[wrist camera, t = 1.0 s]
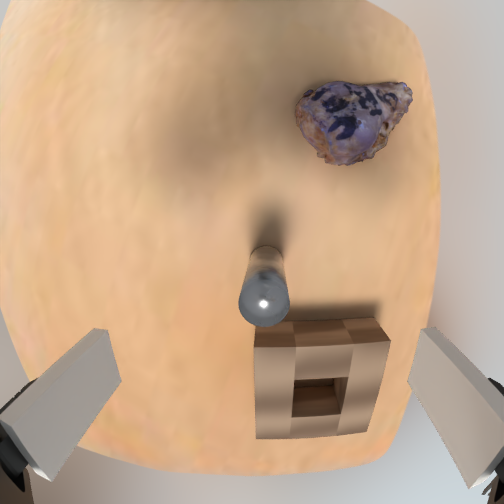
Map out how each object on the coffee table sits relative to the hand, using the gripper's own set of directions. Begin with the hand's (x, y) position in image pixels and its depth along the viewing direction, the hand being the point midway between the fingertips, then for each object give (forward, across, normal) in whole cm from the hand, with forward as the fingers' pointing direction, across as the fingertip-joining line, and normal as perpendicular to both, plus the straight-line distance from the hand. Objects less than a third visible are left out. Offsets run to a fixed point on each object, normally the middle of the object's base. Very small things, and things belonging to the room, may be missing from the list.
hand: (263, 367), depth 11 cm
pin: (+16, 0, 0) cm, 16 cm away
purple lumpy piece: (+17, +8, +13) cm, 23 cm away
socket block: (+16, +5, -12) cm, 21 cm away
